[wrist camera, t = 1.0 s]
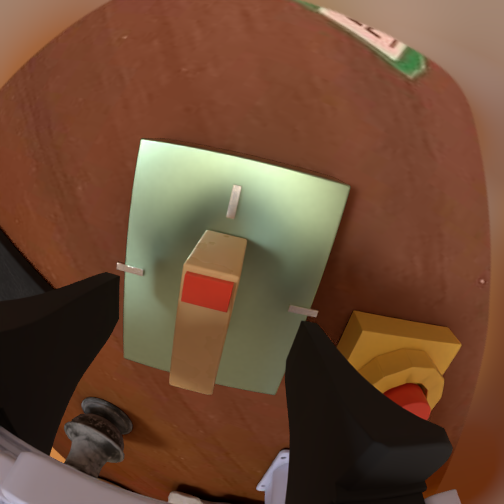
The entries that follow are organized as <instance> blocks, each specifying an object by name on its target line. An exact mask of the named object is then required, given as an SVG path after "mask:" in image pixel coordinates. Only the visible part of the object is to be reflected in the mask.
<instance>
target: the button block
mask: <svg viewBox="0 0 504 504" xmlns="http://www.w3.org/2000/svg"><path fill="white" fill-rule="evenodd" d="M461 345H462V344H461V343H460V342H459V341H458V339H457V338H456V337H455V335H454V334H453V333H452V332H451V330H450V329H449V328H448V327H442V326H436V325H430V324H425V323H419V322H413V321H408V320H402V319H396V318H391V317H386V316H380V315H375V314H370V313H365V312H360V311H353V312H352V315H351V317H350V319H349V321H348V324H347V326H346V328H345V330H344V332H343V335H342V337H341V339H340V341H339V343H338V345H337V347H336V348H337V349H338V350H339V351H340V352H341V354H342V355H343V356H344V357H345V358H346V359H347V360H348V362H349V363H350V364H351V365H352V366H353V367H354V368H355V369H356V370H357V371H358V372H359V373H360V374H361V375H362V376H363V377H364V378H365V379H366V380H367V381H368V382H369V383H371V384H372V385H373V386H374V387H375V388H376V389H378V390H379V391H380V392H381V393H384V392H385V391H387V390H388V389H391V388H394V387H396V386H399V385H402V384H405V383H414V384H417V385H418V386H420V388H421V389H422V391H423V393H424V395H425V397H426V399H427V401H428V403H429V405H430V408H431V410H432V409H433V408H434V406H435V405H436V404H437V402H438V401H439V400H440V398H441V396H442V391H443V386H444V378H443V377H442V375H443V374H444V372H445V371H446V369H447V368H448V366H449V365H450V363H451V362H452V360H453V358H454V357H455V355H456V354H457V352H458V350H459V349H460V347H461Z"/></svg>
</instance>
